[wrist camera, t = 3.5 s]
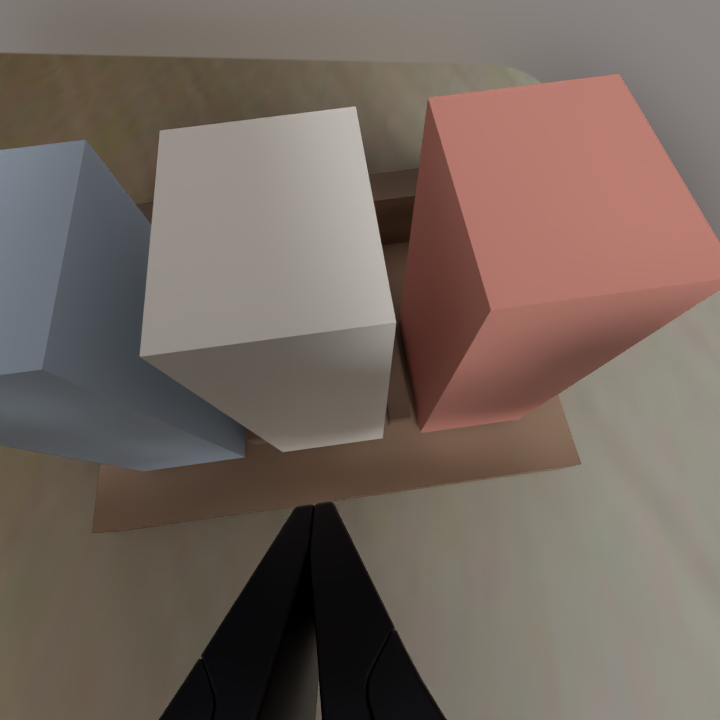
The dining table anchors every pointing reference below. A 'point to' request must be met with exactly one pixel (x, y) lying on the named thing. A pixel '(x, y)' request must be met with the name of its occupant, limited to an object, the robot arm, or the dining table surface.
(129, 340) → the light blue tall block
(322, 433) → the white tall block
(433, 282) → the red rectangular block
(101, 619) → the dining table surface
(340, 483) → the wooden block stand
